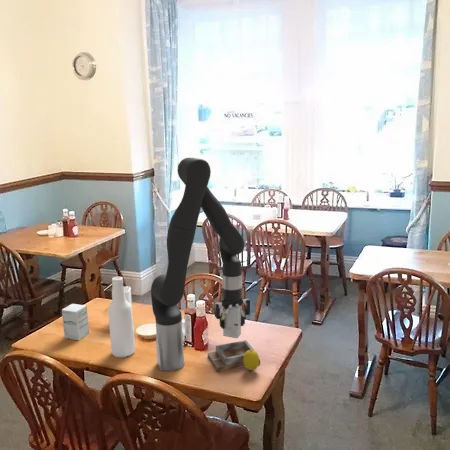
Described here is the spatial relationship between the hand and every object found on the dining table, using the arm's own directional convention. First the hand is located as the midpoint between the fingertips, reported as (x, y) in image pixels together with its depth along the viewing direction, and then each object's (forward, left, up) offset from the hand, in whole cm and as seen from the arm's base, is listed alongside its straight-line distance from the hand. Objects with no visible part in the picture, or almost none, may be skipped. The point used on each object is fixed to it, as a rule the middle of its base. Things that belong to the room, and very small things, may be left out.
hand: (232, 326), depth 198 cm
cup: (-37, +39, -8) cm, 54 cm away
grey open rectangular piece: (-4, -11, -8) cm, 14 cm away
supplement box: (-57, +32, -8) cm, 66 cm away
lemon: (0, -20, -8) cm, 22 cm away
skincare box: (0, 0, -4) cm, 4 cm away
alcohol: (-41, +10, -8) cm, 43 cm away
